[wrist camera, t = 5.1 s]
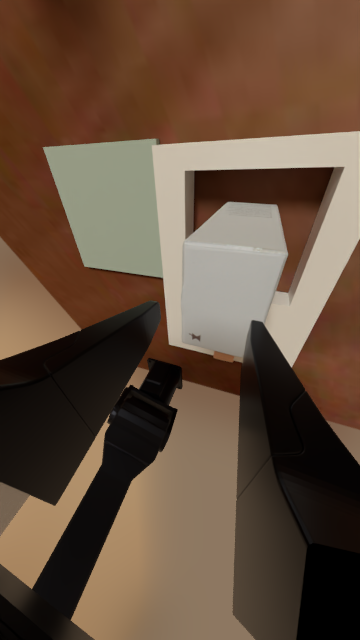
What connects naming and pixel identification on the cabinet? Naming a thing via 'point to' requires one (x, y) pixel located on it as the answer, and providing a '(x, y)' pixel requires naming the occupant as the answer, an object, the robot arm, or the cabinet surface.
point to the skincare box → (231, 275)
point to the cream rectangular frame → (323, 242)
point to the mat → (111, 203)
